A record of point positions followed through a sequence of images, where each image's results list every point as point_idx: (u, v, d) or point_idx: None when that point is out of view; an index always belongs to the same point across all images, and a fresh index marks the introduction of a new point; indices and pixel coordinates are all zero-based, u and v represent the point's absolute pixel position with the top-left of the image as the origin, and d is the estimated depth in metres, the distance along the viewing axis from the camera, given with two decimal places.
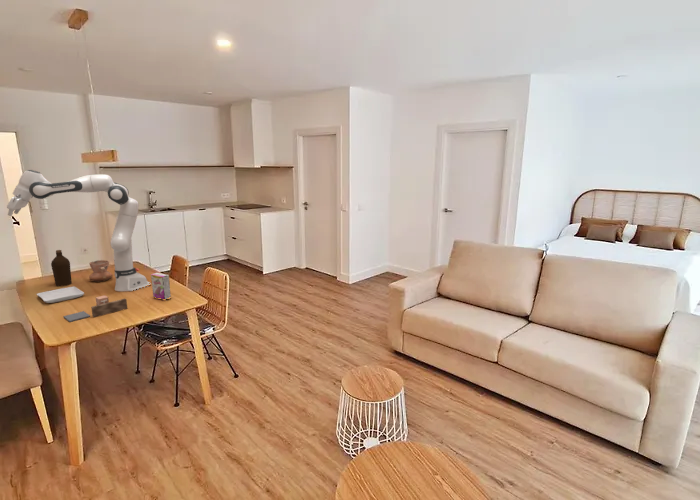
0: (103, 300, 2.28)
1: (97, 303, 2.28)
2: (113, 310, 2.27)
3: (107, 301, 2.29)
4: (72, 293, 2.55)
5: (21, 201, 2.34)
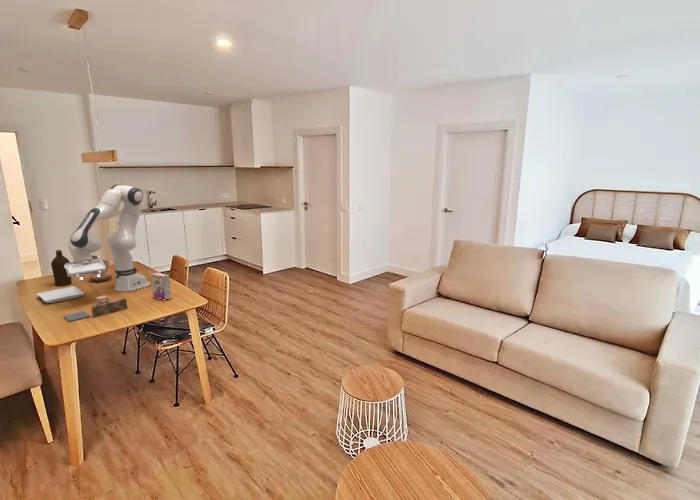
0: (103, 300, 2.28)
1: (97, 303, 2.28)
2: (113, 310, 2.27)
3: (107, 301, 2.29)
4: (72, 293, 2.55)
5: (81, 265, 2.34)
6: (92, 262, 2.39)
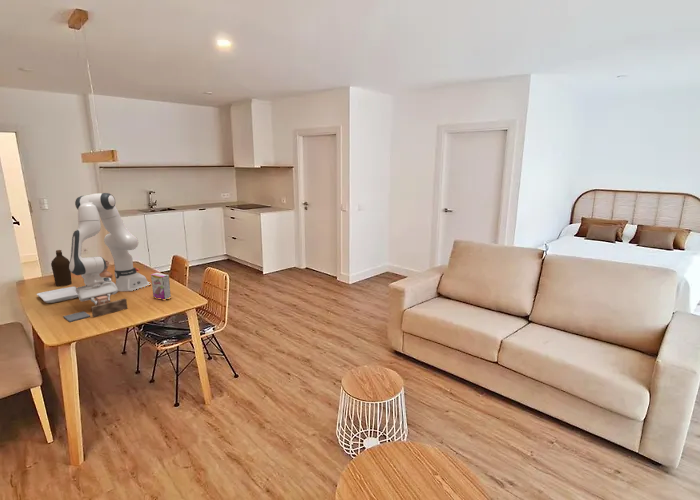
0: (103, 300, 2.28)
1: None
2: (113, 310, 2.27)
3: (107, 301, 2.29)
4: (72, 293, 2.55)
5: (93, 288, 2.29)
6: (104, 285, 2.34)
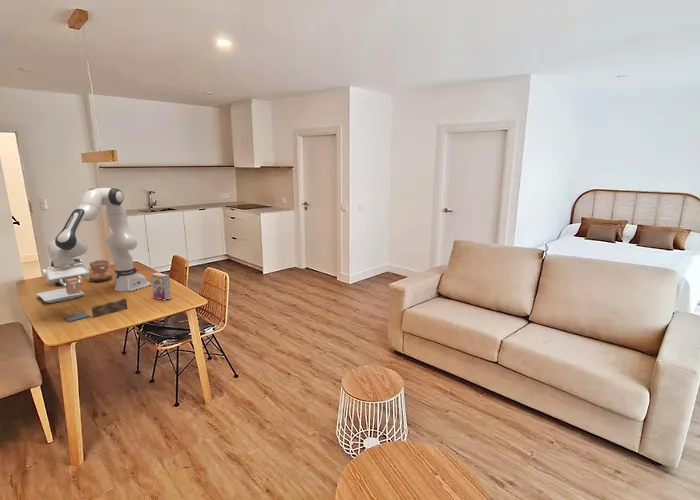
0: (73, 282, 2.13)
1: None
2: (113, 310, 2.27)
3: (77, 283, 2.15)
4: None
5: (62, 270, 2.15)
6: (74, 266, 2.19)
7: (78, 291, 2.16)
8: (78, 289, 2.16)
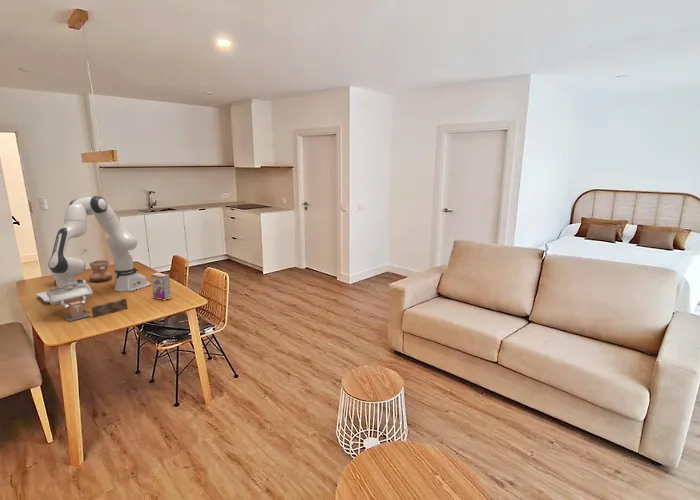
0: (77, 306, 2.16)
1: (70, 309, 2.17)
2: (113, 310, 2.27)
3: (81, 307, 2.18)
4: None
5: (65, 291, 2.18)
6: (77, 287, 2.22)
7: (81, 314, 2.19)
8: (81, 312, 2.19)
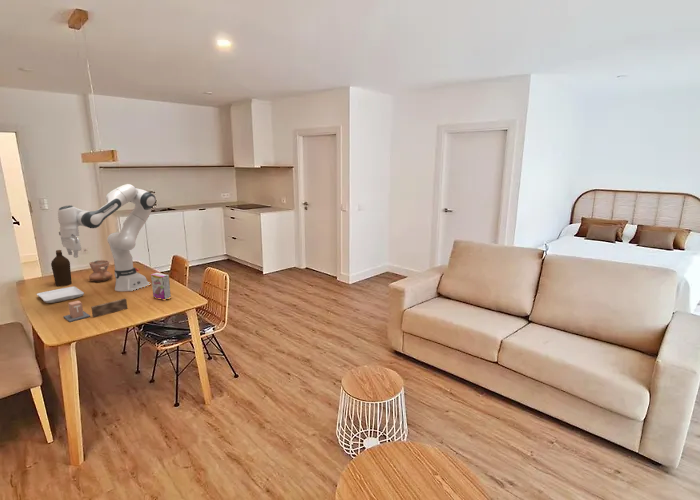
0: (77, 306, 2.16)
1: (70, 309, 2.17)
2: (113, 310, 2.27)
3: (81, 307, 2.18)
4: (72, 293, 2.55)
5: None
6: None
7: (81, 314, 2.19)
8: (81, 312, 2.19)
